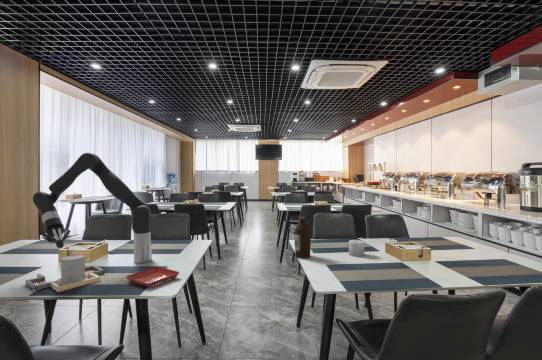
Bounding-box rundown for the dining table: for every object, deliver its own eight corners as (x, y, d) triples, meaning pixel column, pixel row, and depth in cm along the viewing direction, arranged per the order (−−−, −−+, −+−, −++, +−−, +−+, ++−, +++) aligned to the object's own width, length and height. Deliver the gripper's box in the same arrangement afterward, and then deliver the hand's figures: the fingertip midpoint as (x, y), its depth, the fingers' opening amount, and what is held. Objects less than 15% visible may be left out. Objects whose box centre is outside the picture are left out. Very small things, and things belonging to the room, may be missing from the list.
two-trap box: (21, 281, 141) (21, 277, 141) (88, 266, 164) (88, 263, 164) (41, 296, 123) (41, 291, 123) (113, 277, 147) (112, 273, 147)
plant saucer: (148, 290, 130) (148, 283, 130) (124, 282, 140) (124, 276, 140) (180, 278, 146) (180, 272, 146) (157, 272, 155) (157, 266, 155)
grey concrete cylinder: (89, 281, 142) (89, 255, 142) (68, 287, 133) (68, 261, 133) (77, 278, 146) (77, 253, 146) (56, 284, 137) (56, 258, 137)
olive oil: (305, 253, 191) (305, 215, 191) (314, 257, 181) (314, 217, 181) (291, 255, 187) (291, 216, 186) (299, 259, 177) (299, 218, 177)
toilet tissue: (349, 251, 197) (349, 238, 197) (367, 255, 187) (367, 241, 187) (341, 253, 191) (341, 240, 191) (358, 257, 181) (358, 243, 181)
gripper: (38, 218, 150) (46, 245, 142) (68, 215, 160) (77, 240, 153) (35, 227, 153) (43, 254, 146) (64, 224, 164) (73, 249, 156)
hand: (61, 247), depth 149 cm, fingers closed
